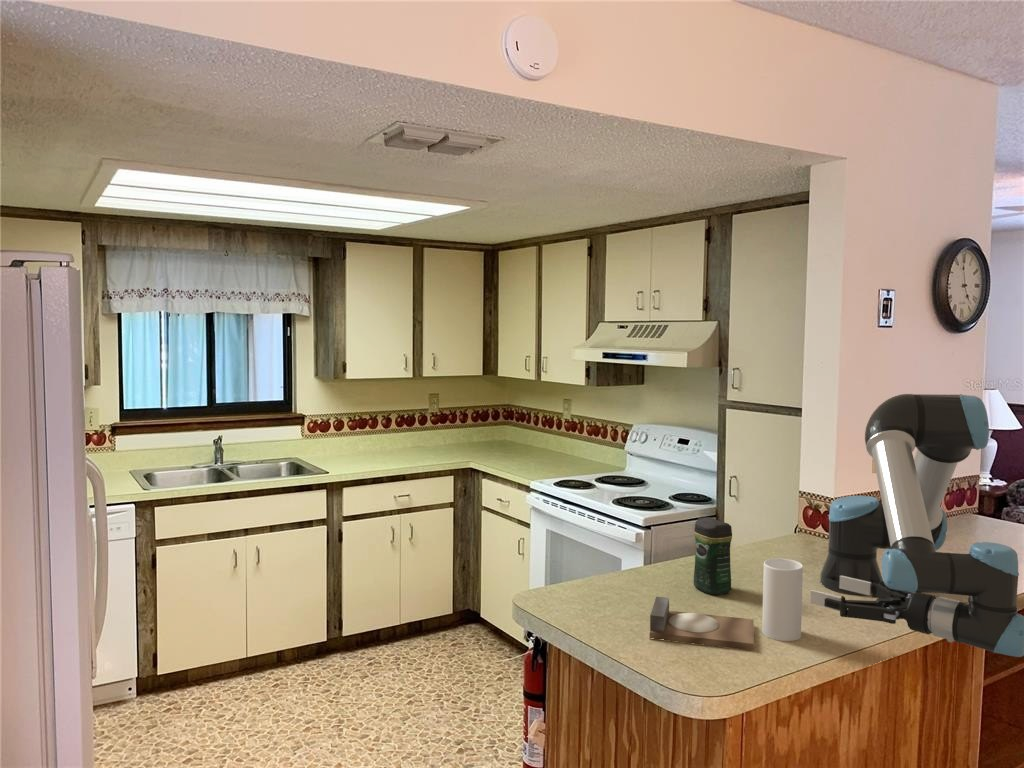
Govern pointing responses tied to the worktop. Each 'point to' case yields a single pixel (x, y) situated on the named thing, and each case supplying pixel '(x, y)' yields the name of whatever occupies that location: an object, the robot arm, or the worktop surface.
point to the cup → (782, 599)
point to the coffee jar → (712, 556)
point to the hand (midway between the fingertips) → (826, 588)
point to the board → (700, 627)
